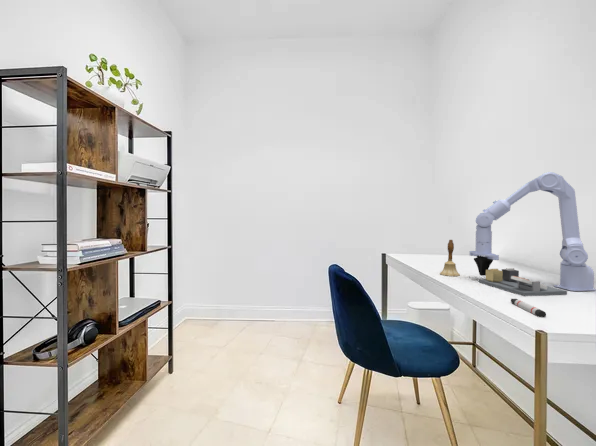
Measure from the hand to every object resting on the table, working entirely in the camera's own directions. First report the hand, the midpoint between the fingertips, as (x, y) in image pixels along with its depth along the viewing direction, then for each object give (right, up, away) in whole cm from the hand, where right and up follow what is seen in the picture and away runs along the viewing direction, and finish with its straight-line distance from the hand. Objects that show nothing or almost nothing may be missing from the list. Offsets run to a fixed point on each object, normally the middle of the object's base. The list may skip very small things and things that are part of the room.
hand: (483, 275), depth 133 cm
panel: (+6, -3, -12) cm, 14 cm away
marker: (-10, -4, -39) cm, 40 cm away
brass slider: (+1, -1, -6) cm, 6 cm away
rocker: (+5, 0, -20) cm, 20 cm away
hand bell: (-7, -2, +14) cm, 16 cm away
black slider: (+8, -1, -5) cm, 9 cm away
